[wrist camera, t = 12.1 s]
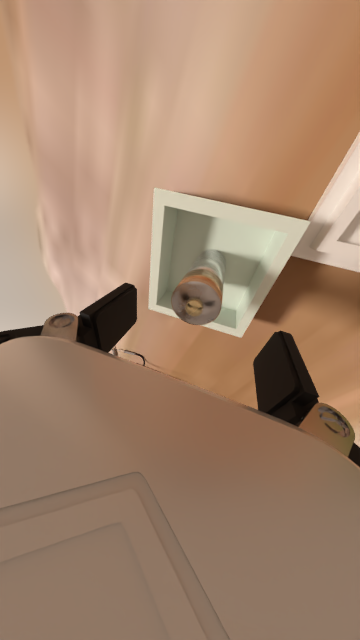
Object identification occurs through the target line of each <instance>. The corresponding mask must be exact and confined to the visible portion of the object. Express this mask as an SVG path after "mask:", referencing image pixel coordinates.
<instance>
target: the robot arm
mask: <svg viewBox="0 0 360 640" xmlns="http://www.w3.org/2000/svg"><path fill="white" fill-rule="evenodd" d="M136 320H137V289H136V288H135V286H134V285H132V284H128V283H124V284H123V285H121V286H120V287H118V288H116V289H115V290H113V291H112V292H110V293H109V294H107V295H105V296H104V297H102V298H101V299H99V300H98V301H96V302H95V303H93V304H91V305H90V306H88V307H87V308H85V309H84V310H82V311H80V315H79V316H78V317H77V316H76V315H75V314H72V313H60V314H56V315H53V316H51V317H49V318H48V319H47V320H46V321H45V323H44V325H42V326H36V327H29V328H22V329H15V330H8V331H3V332H0V640H360V448H359V447H358V446H357V445H356V444H355V443H354V440H355V433H354V430H353V428H352V426H351V425H350V423H349V422H348V421H347V420H346V418H345V417H344V416H343V415H342V414H341V413H340V412H338V411H337V410H336V409H334V408H333V407H331V406H329V405H327V404H324V403H319V402H318V399H317V398H318V397H319V395H318V393H317V391H316V388H315V386H314V384H313V382H312V379H311V377H310V375H309V373H308V370H307V368H306V366H305V364H304V361H303V359H302V357H301V355H300V353H299V350H298V348H297V346H296V344H295V341H294V339H293V337H292V335H291V334H289V333H286V332H283V331H279V332H275V333H274V334H273V335H272V337H271V338H270V339H269V341H268V342H267V343H266V345H265V346H264V347H263V349H262V350H261V351H260V353H259V354H258V355H257V357H256V358H255V360H254V363H253V365H254V375H255V384H256V393H257V402H258V410H256V409H254V408H251V407H249V406H246V405H244V404H241V403H239V402H236V401H233V400H231V399H228V398H226V397H223V396H220V395H218V394H215V393H213V392H210V391H208V390H205V389H202V388H200V387H197V386H195V385H192V384H189V383H187V382H184V381H182V380H179V379H176V378H174V377H171V376H168V375H166V374H163V373H161V372H158V371H155V370H153V369H150V368H147V367H145V366H142V365H139V364H137V363H134V362H131V361H129V360H126V359H123V358H121V357H118V356H115V355H113V354H110V353H108V352H109V351H110V350H111V349H112V348H113V347H114V346H115V345H116V344H117V342H118V341H119V340H120V339H121V338H122V337H123V336H124V335H125V334H126V333H127V331H128V330H129V329H130V328H131V327H132V326H133V325H134V324H135V322H136Z"/></svg>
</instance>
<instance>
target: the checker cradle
mask: <svg viewBox="0 0 360 640" xmlns="http://www.w3.org/2000/svg"><path fill="white" fill-rule="evenodd" d="M307 221H311V223H310V224H309V226H308V228H307V229H306V231H305V233H304V234H303V236H302V238H301V239H300V241H299V243H298V244H297V246H296V247H295V249H294V251H293V252H292V254H291V256H294V257H298V258H303V259H307V260H311V261H315V262H319V263H323V264H327V265H331V266H335V267H339V268H343V269H348V270H352V271H356V272H360V132H359V134H358V135H357V137H356V139H355V140H354V142H353V144H352V145H351V147H350V149H349V151H348V152H347V154H346V156H345V157H344V159H343V161H342V162H341V164H340V166H339V168H338V169H337V171H336V173H335V174H334V176H333V178H332V180H331V181H330V183H329V185H328V186H327V188H326V190H325V191H324V193H323V195H322V197H321V198H320V200H319V202H318V203H317V205H316V207H315V208H314V210H313V212H312V214H311V215H310V217H309V219H308V220H307Z"/></svg>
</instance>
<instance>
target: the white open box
mask: <svg viewBox="0 0 360 640" xmlns="http://www.w3.org/2000/svg"><path fill="white" fill-rule="evenodd" d="M310 223H311V221H306V220H302V219H297V218H293V217H288V216H284V215H279V214H275V213H270V212H265V211H261V210H256V209H252V208H247V207H242V206H238V205H233V204H229V203H224V202H219V201H215V200H210V199H206V198H201V197H196V196H192V195H187V194H183V193H178V192H173V191H169V190H164V189H159V188H155V187H154V198H153V220H152V242H151V264H150V286H149V308H148V309H151V310H154V311H157V312H160V313H163V314H167V315H170V316H173V317H176V318H179V317H178V316H177V315H176V314H175V312H174V310H173V308H172V304H171V297H172V294H173V292H174V290H175V288H176V287H177V286H178V284H179V283H180V281H181V280H182V278H183V277H184V276H185V275H186V274H187V272H188V271H189V269H190V268H191V266H192V265H193V263H194V262H195V260H196V259H197V257H198V256H199V255H200V254H201V253H202V252H203V251H205V250H208V249H214V250H217V251H219V252H221V253H222V254H223V256H224V257H225V260H226V269H225V277H224V285H223V298H222V306H221V311H220V313H219V315H218V317H217V318H216V319H215V320H214V321H212V322H210V323H208V324H205V325H202V326H205V327H208V328H211V329H214V330H218V331H221V332H224V333H227V334H230V335H234V336H237V337H240V338H241V337H242V336H243V334H244V332H245V331H246V329H247V327H248V326H249V324H250V322H251V321H252V319H253V317H254V316H255V314H256V312H257V311H258V309H259V307H260V306H261V304H262V302H263V301H264V299H265V297H266V296H267V294H268V292H269V291H270V289H271V287H272V286H273V284H274V282H275V281H276V279H277V277H278V276H279V274H280V272H281V271H282V269H283V267H284V266H285V264H286V262H287V261H288V259H289V257H290V256H291V254H292V252H293V251H294V249H295V247H296V246H297V244H298V243H299V241H300V239H301V238H302V236H303V234H304V233H305V231H306V229H307V228H308V226H309V224H310ZM179 319H180V318H179Z"/></svg>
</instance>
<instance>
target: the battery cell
mask: <svg viewBox="0 0 360 640" xmlns="http://www.w3.org/2000/svg"><path fill="white" fill-rule="evenodd" d="M225 269H226V260H225V257H224V256H223V254H222V253H221V252H219V251H217V250H214V249H208V250H205V251H203V252H202V253H201V254H200V255H199V256H198V257H197V259H196V260H195V262H194V263H193V265H192V266H191V268H190V269H189V271H188V272H187V274H186V275H185V276H184V277H183V278H182V280H181V281H180V283H179V284H178V286H177V287H176V288H175V290H174V292H173V294H172V297H171V304H172V308H173V310H174V312H175V314H176V315H177V316H178V317H179V318H180V319H181V320H183V321H185V322H187V323H189V324H193V325H205V324H208V323H210V322H212V321H214V320H215V319H216V318H217V317H218V315H219V313H220V311H221V306H222V298H223V285H224V277H225Z"/></svg>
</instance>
